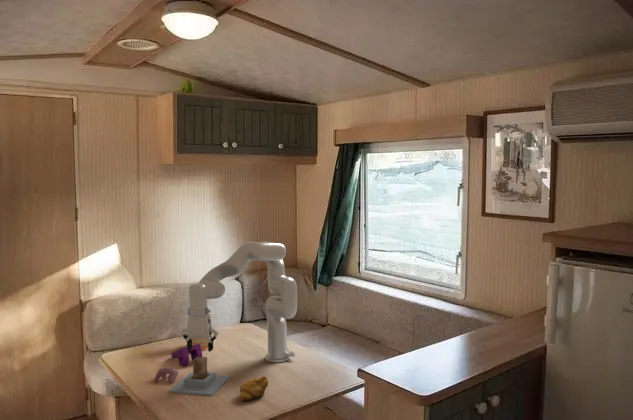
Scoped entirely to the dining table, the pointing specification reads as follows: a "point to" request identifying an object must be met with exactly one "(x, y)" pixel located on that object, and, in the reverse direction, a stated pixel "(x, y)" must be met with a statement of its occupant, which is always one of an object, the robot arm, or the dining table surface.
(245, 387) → the bread roll
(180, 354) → the mounting bracket
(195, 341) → the potted cactus
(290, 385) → the dining table surface
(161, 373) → the video game controller
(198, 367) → the walnut block
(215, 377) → the grey square socket base
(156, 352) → the dining table surface
